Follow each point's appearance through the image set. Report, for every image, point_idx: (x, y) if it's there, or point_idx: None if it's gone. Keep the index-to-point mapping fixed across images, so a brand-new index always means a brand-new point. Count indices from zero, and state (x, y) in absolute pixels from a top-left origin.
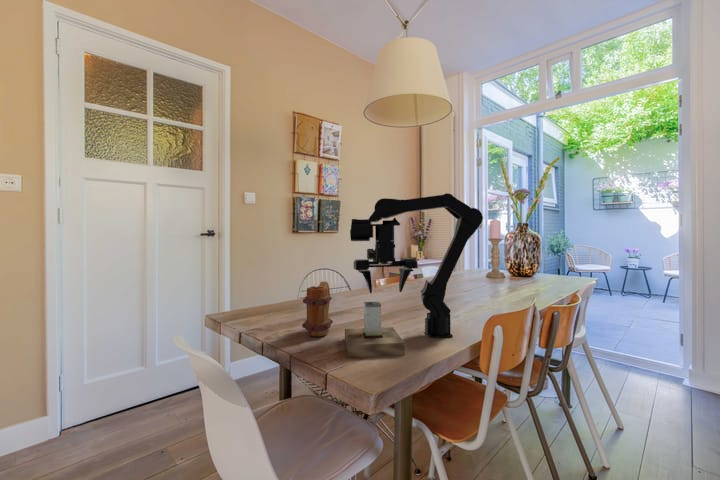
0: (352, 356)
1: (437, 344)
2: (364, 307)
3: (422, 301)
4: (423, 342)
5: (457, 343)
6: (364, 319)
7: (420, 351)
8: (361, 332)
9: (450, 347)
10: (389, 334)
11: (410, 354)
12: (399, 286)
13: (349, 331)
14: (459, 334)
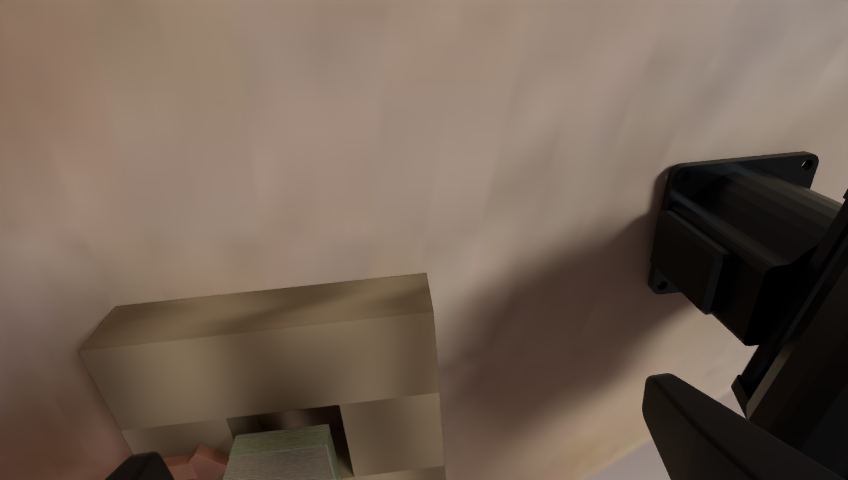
0: None
1: (629, 366)
2: None
3: (775, 433)
4: (574, 343)
5: (729, 352)
6: None
7: (517, 438)
8: (219, 412)
9: None
10: (392, 434)
11: (466, 464)
12: (697, 457)
13: (133, 399)
14: None
